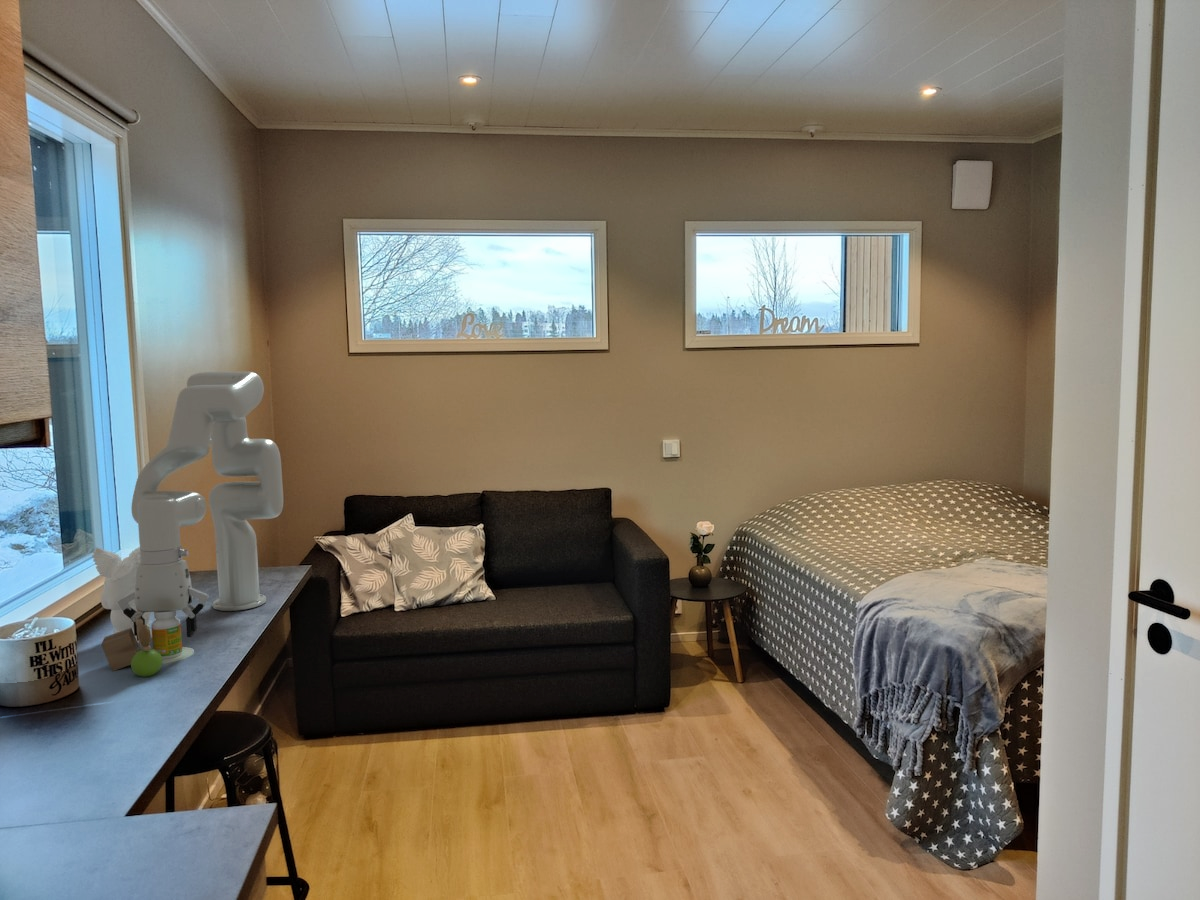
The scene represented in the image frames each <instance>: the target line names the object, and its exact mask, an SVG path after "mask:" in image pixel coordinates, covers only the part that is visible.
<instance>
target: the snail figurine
mask: <svg viewBox="0 0 1200 900" xmlns="http://www.w3.org/2000/svg"><path fill="white" fill-rule="evenodd" d="M141 614H142V613H139V615H141ZM135 616H136V619H137V616H138V614H137V613H136V614H135ZM136 625H137V635H138V640H139V643H138V645H140V646H139V647H140V648H141V649H140V651H138V652H137V653H136V654H135V655H134V656H133V658H132V661H131V665H130V666H131V667H130V668H131V670H132V672H133V673H134V675H136V676H138V677H143V678H145V677H152V676H153V675H156V673H158V672H159V670H160V669H161V667H162V666H163V664H162V656H161V654H160V653H159V652H158V651H156V650H154V649H153V648H152V647H151V646H150V645H151V644H150V643H151V639H152V638H151V634H150V630H151V629H150V628H149V627H148V626H147V625H143V620H142V619H141V617H140V619H138V620H137V621H136Z"/></svg>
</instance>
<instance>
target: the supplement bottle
mask: <svg viewBox="0 0 1200 900" xmlns="http://www.w3.org/2000/svg"><path fill="white" fill-rule="evenodd" d="M176 613H177V610H175V611H160V612H153V617H154V621H152V623H151V630H152V638H151V639H152V649H154V650H156V651H158V652H159V653H160V654H161V656H162V659H169V658H174V657H177V656H179V655H180V654H182V647H183V641H182V639H183V638H182V625H181V620H180V618H178V617H176V615H177V614H176Z"/></svg>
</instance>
